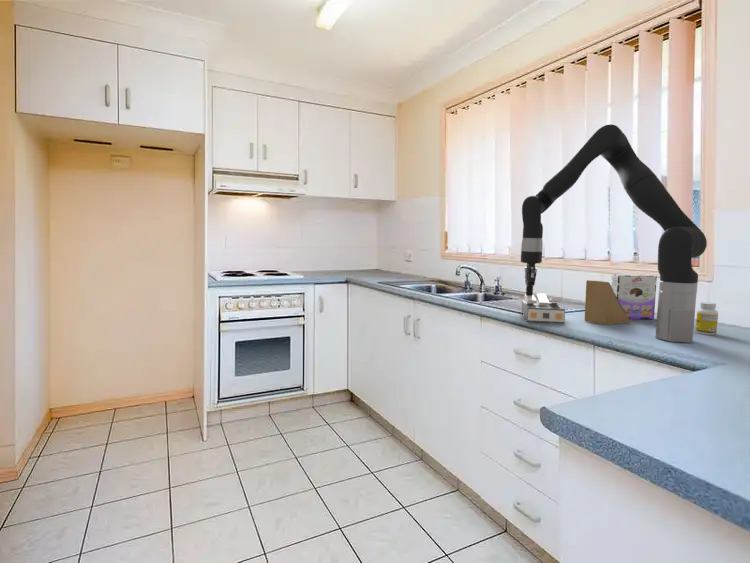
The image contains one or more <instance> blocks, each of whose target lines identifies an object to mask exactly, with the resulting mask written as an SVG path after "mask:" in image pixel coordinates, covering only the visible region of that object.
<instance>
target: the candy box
mask: <svg viewBox="0 0 750 563" xmlns="http://www.w3.org/2000/svg"><path fill="white" fill-rule="evenodd" d="M657 281H658V280H657V275H654V274H646V273H645V274H642V273H641V274H639V273H635V274H634V273H612V275H611V283H610V285H611V287H612V289H613V291H614V293H615V295H616V297H617V299H618V300H619V302H620V304H621V306H622V308H623V309H624V311H625V313H626V315H627V316H628V318H629V320H630V319H632V320H635V319H636V320H639V319H640V320H654V319H655V310H656V309H655V307H656V305H655V304H656V294H657Z"/></svg>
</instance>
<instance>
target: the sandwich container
mask: <svg viewBox="0 0 750 563" xmlns="http://www.w3.org/2000/svg"><path fill="white" fill-rule="evenodd" d="M585 284H586V285H585V303H584V304H585V305H584V321H585V322H588V321H589V322H588V323H593V322H594V323H593V324H598V323H599V325H605V326H608V325H615V324H622V323H626V322H627V323H628V322H631V320H630V319H629V318H628V316H627V315H626V313H625V311H624V309H623V308H622V306H621V304H620V302H619V300H618V299H617V297H616V295H615V293H614V291H613V289H612V287H611V283H610V282H609V281H602V280H586V282H585Z"/></svg>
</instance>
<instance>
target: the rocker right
mask: <svg viewBox="0 0 750 563" xmlns="http://www.w3.org/2000/svg"><path fill="white" fill-rule="evenodd" d="M547 299H548V301H549V302H556V303H561V302H562V300H563V298H562V297H549V298H548V297H547Z"/></svg>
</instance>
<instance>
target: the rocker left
mask: <svg viewBox="0 0 750 563" xmlns="http://www.w3.org/2000/svg"><path fill="white" fill-rule="evenodd" d="M524 301H526V302H527V303H533V304H537V301H538V300H537V297H536V296H535V295H534V294H533V295H532V296H531V295H526V294H524Z"/></svg>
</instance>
